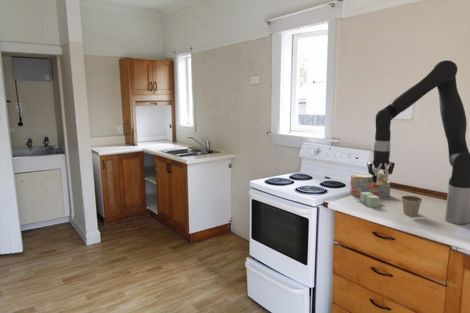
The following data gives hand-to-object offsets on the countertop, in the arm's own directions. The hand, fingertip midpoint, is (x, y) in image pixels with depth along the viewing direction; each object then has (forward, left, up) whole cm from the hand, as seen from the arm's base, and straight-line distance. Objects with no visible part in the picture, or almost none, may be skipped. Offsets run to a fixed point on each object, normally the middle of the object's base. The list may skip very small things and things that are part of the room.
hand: (379, 182), depth 171 cm
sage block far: (-1, -14, -15) cm, 21 cm away
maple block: (0, 0, -1) cm, 1 cm away
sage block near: (-1, -8, -15) cm, 17 cm away
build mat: (-2, -11, -15) cm, 19 cm away
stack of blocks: (-10, -27, -16) cm, 33 cm away
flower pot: (-13, +7, -16) cm, 22 cm away
